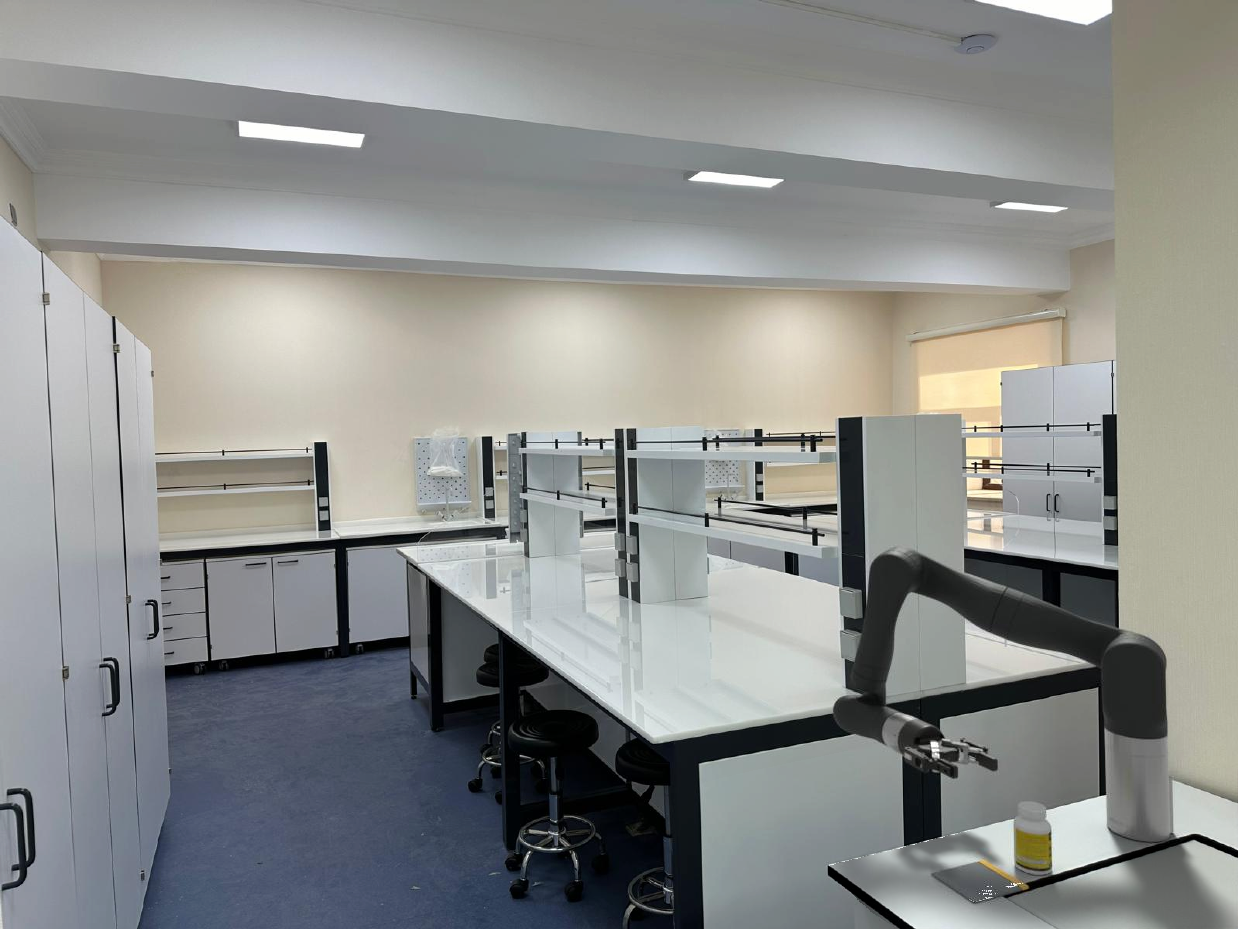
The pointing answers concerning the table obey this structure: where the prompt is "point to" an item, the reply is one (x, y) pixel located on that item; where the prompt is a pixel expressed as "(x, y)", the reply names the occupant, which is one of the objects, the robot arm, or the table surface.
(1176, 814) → the table surface
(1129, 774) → the robot arm
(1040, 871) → the supplement bottle
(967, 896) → the mat
